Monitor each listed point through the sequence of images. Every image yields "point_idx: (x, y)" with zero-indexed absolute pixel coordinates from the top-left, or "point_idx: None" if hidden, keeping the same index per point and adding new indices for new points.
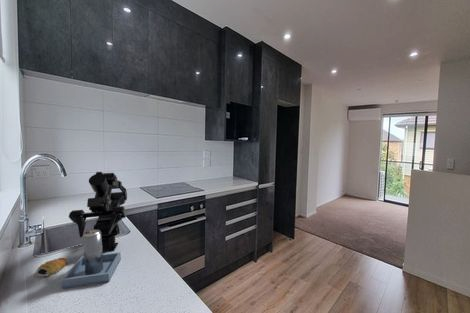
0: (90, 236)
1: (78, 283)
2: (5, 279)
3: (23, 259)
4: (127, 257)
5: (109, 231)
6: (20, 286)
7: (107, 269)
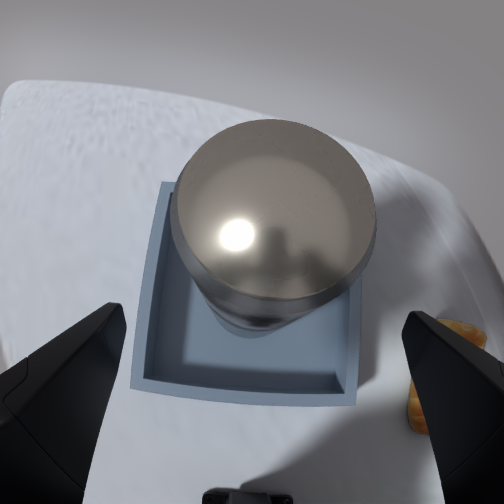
0: (267, 126)
1: None
2: None
3: None
4: (113, 389)
5: (98, 309)
6: (478, 283)
7: (188, 288)
